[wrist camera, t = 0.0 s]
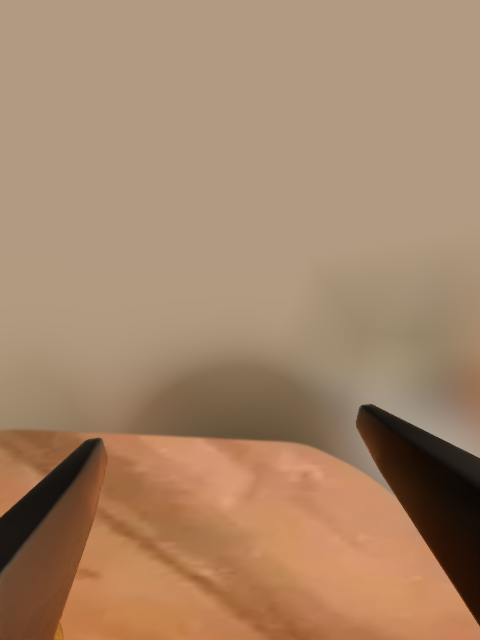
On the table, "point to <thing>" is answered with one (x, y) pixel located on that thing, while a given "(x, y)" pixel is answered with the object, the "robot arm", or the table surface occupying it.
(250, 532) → the table surface
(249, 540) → the table surface
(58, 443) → the table surface
